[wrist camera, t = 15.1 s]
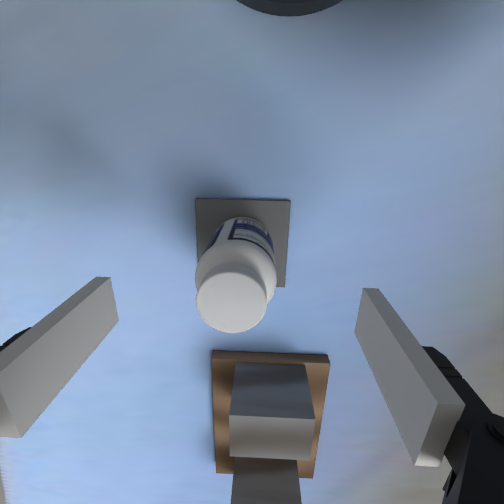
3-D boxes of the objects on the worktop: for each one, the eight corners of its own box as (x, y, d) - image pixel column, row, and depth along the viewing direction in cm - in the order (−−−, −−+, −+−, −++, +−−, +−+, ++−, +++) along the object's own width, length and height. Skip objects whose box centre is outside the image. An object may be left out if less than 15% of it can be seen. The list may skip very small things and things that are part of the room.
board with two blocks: (213, 350, 29) (198, 411, 22) (327, 355, 29) (347, 418, 22) (217, 462, 36) (206, 536, 29) (311, 467, 35) (322, 543, 28)
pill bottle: (228, 281, 26) (208, 355, 17) (202, 229, 24) (164, 280, 15) (282, 261, 25) (293, 327, 16) (259, 205, 23) (256, 244, 14)
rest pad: (195, 198, 23) (194, 198, 23) (290, 200, 23) (290, 201, 23) (200, 282, 26) (199, 284, 26) (284, 285, 26) (284, 287, 26)
